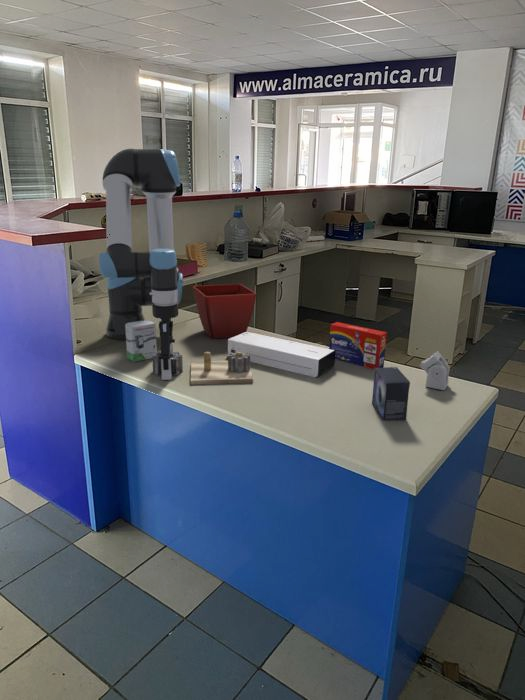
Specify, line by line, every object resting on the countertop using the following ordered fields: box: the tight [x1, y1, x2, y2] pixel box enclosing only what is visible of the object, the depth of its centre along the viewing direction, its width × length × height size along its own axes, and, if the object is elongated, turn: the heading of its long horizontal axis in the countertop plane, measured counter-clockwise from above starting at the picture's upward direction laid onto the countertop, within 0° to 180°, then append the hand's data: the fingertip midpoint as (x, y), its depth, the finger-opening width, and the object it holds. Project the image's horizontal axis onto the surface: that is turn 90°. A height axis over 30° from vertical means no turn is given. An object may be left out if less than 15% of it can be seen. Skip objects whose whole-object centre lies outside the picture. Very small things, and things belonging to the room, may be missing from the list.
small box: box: [371, 366, 411, 421], centre depth 135 cm, size 11×6×10 cm, turn 5°
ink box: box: [125, 319, 158, 363], centre depth 171 cm, size 9×5×12 cm, turn 129°
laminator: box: [226, 331, 336, 378], centre depth 170 cm, size 34×12×6 cm, turn 57°
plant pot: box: [192, 283, 257, 339], centre depth 198 cm, size 19×19×17 cm
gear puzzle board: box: [190, 351, 254, 385], centre depth 159 cm, size 16×18×7 cm
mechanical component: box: [419, 351, 450, 391], centre depth 153 cm, size 5×8×10 cm
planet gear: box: [151, 351, 184, 377], centre depth 161 cm, size 9×9×5 cm
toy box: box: [328, 321, 388, 371], centre depth 170 cm, size 18×4×12 cm, turn 52°
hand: (168, 371), depth 161 cm, fingers open, 13 cm apart
